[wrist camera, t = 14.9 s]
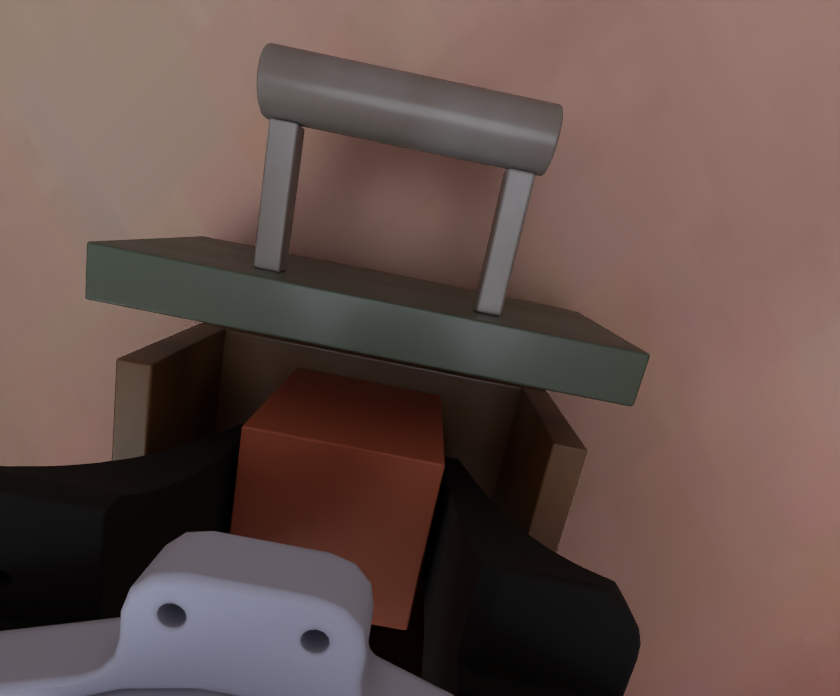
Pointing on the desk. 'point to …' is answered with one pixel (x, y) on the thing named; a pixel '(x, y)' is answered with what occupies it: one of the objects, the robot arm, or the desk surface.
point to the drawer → (372, 305)
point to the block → (345, 478)
